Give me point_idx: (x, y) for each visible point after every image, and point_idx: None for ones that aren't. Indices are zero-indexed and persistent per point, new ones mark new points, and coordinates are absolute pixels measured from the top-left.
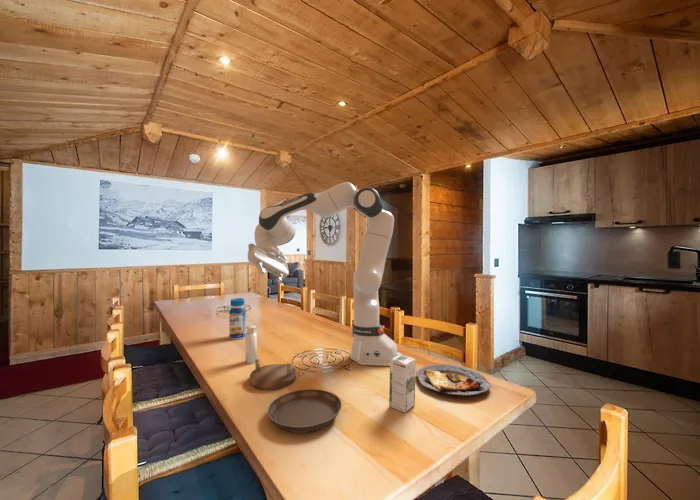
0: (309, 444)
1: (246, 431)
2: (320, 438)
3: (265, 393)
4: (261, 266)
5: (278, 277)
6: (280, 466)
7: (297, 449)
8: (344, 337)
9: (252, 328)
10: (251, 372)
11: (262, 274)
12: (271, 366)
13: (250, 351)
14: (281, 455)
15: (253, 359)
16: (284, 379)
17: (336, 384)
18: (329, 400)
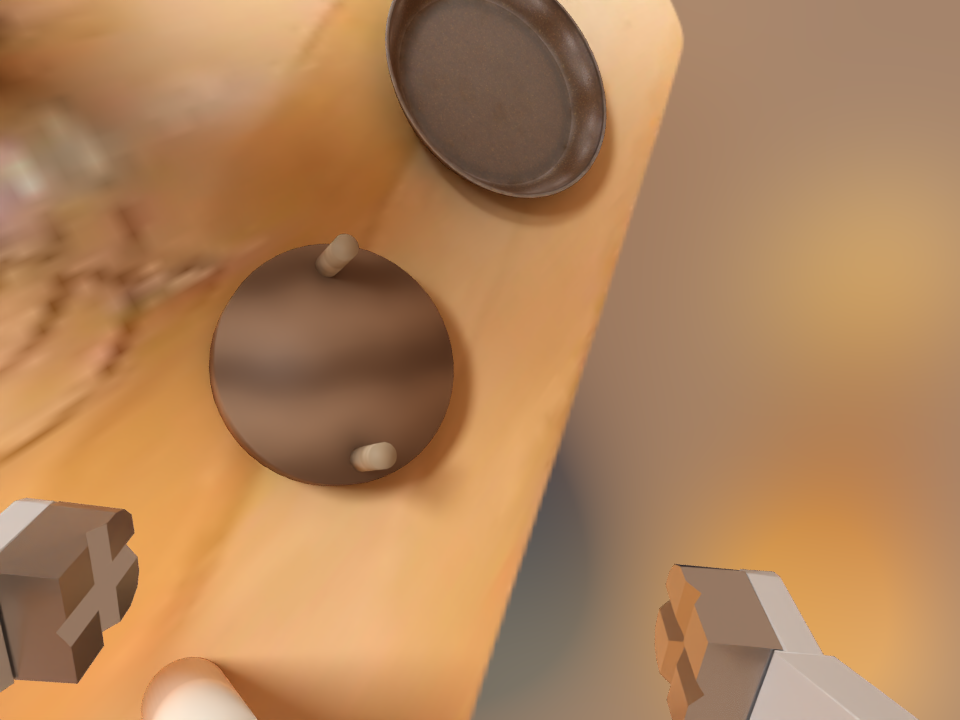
0: None
1: (619, 219)
2: None
3: (448, 311)
4: (868, 690)
5: (67, 596)
6: (651, 72)
7: (601, 57)
8: None
9: None
10: (397, 468)
11: (662, 623)
12: (280, 430)
13: (234, 688)
14: (631, 85)
15: (206, 664)
16: (378, 260)
17: (226, 50)
18: (398, 27)
